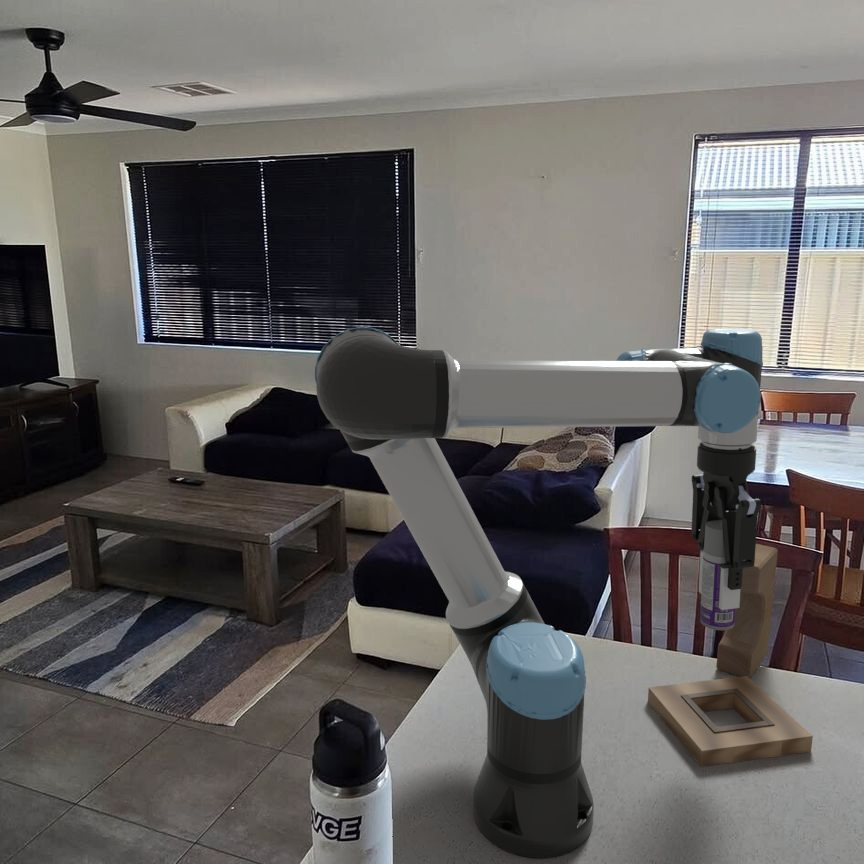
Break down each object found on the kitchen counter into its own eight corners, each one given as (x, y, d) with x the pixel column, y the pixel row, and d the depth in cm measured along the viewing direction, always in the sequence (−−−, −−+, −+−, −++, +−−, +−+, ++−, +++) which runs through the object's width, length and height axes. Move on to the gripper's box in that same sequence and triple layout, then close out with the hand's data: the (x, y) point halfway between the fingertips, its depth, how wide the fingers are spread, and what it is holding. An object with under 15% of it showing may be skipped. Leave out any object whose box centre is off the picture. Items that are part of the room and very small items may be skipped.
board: (700, 766, 104) (702, 749, 103) (647, 701, 119) (648, 686, 118) (810, 751, 107) (812, 734, 106) (745, 689, 122) (746, 674, 121)
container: (737, 619, 110) (743, 522, 106) (730, 633, 106) (736, 533, 103) (704, 612, 112) (708, 517, 109) (696, 625, 108) (701, 527, 105)
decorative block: (748, 681, 125) (759, 568, 120) (714, 669, 128) (723, 559, 124) (769, 654, 133) (779, 548, 128) (736, 644, 136) (745, 540, 132)
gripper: (793, 456, 95) (780, 624, 100) (716, 427, 112) (709, 572, 117) (739, 461, 94) (729, 631, 99) (669, 430, 111) (664, 577, 116)
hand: (718, 599), depth 108 cm, fingers closed on container, 5 cm apart
